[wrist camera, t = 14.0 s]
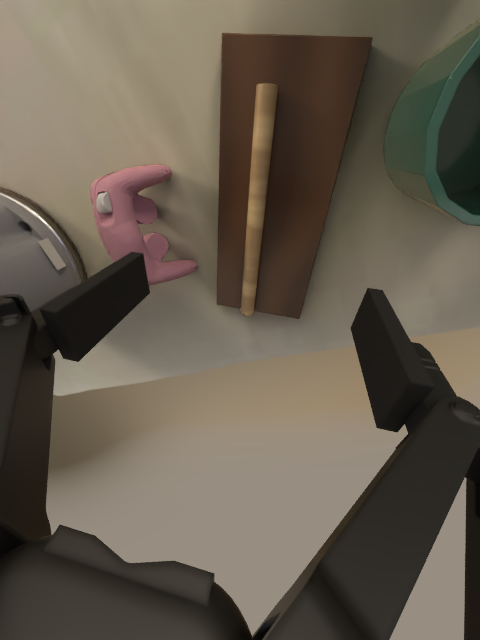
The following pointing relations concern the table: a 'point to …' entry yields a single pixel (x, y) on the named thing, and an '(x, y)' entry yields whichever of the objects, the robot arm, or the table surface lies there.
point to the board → (283, 156)
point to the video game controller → (134, 220)
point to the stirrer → (258, 189)
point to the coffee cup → (440, 131)
